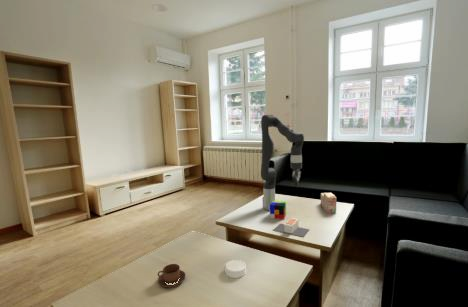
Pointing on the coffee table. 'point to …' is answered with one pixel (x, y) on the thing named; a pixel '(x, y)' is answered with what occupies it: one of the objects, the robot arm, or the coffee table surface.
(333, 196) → the stack of blocks
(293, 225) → the tall block
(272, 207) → the puzzle toy
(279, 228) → the mat
